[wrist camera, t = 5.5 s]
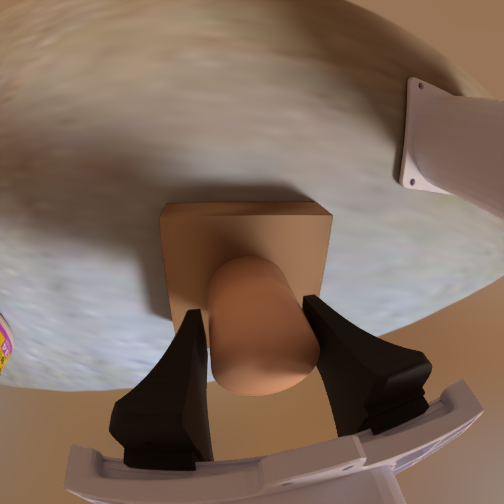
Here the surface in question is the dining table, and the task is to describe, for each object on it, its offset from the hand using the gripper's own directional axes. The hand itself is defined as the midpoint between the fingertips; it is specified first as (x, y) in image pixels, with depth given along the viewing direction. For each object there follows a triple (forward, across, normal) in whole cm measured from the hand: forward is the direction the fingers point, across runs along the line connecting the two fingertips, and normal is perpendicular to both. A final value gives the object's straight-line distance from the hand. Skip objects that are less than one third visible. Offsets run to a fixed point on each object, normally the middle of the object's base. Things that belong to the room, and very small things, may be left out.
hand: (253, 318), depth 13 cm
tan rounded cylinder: (+2, 0, 0) cm, 2 cm away
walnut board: (+5, 0, 0) cm, 5 cm away
